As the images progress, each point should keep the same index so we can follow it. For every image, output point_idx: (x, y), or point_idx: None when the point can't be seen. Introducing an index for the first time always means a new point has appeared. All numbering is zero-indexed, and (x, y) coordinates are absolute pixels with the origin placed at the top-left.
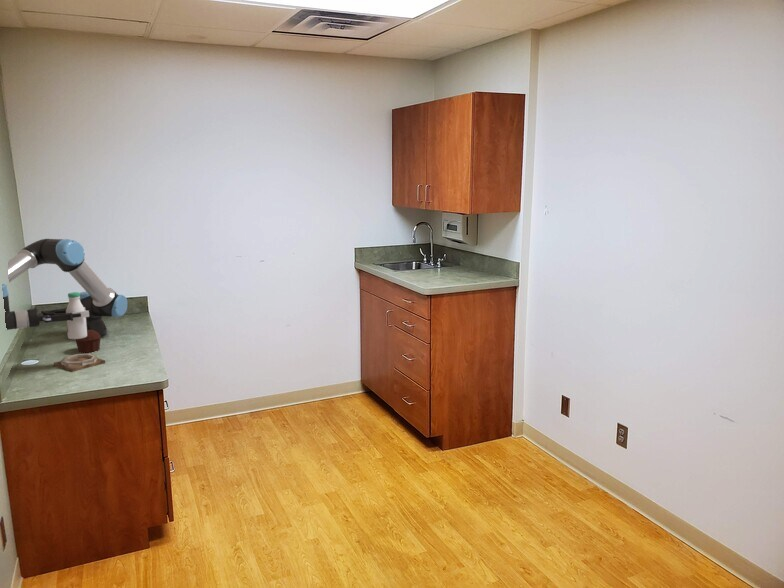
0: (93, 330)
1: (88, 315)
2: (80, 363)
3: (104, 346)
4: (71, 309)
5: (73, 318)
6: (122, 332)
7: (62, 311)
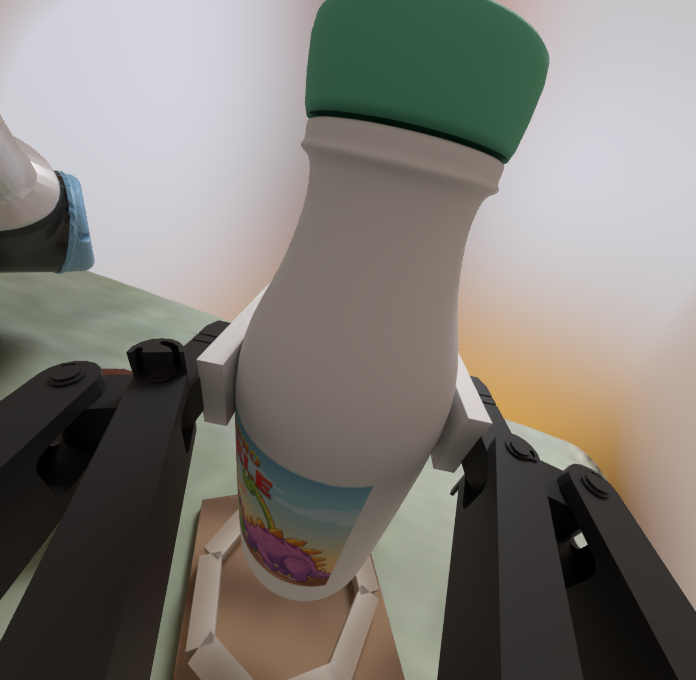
0: (116, 372)
1: None
2: (376, 602)
3: None
4: (451, 384)
5: (451, 464)
6: (60, 311)
7: (168, 467)
